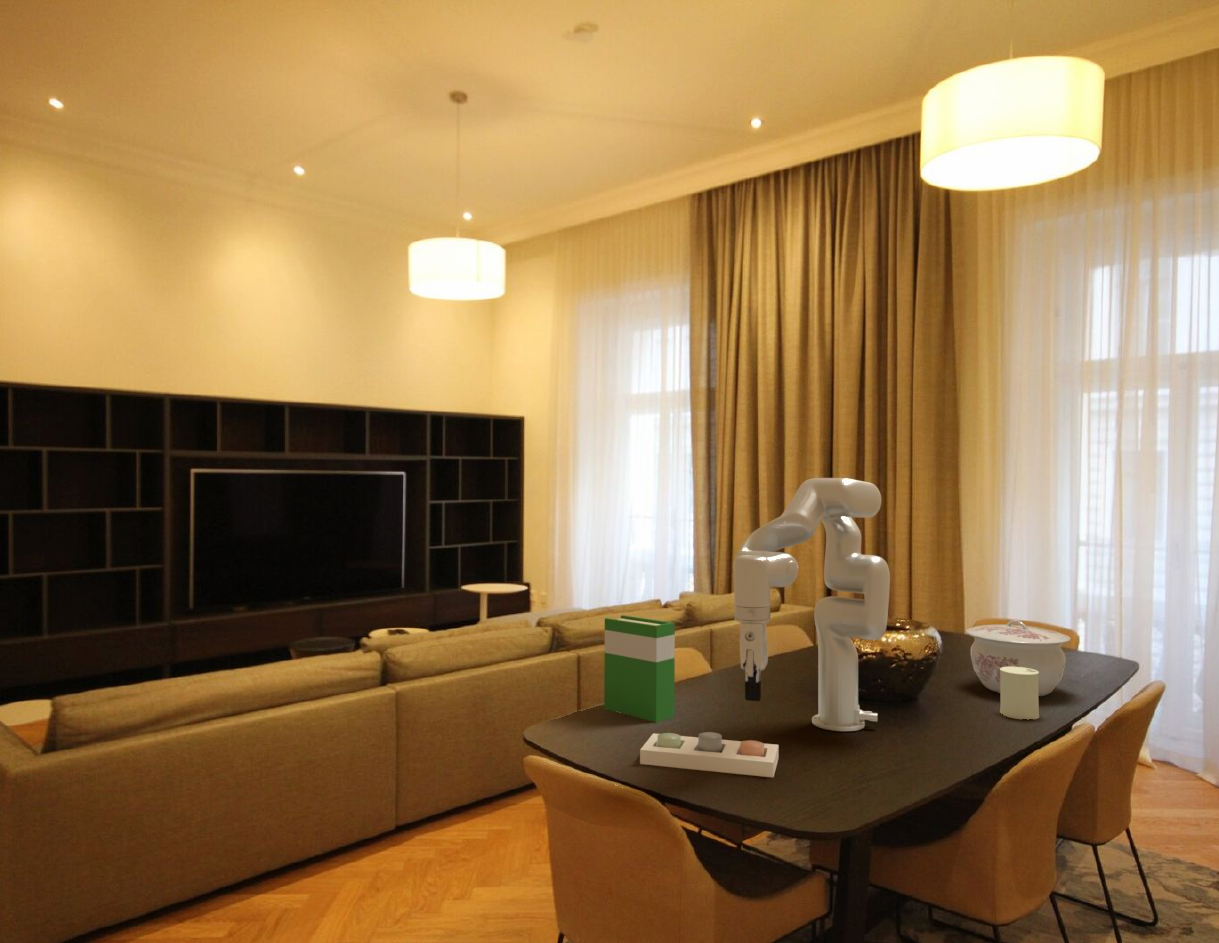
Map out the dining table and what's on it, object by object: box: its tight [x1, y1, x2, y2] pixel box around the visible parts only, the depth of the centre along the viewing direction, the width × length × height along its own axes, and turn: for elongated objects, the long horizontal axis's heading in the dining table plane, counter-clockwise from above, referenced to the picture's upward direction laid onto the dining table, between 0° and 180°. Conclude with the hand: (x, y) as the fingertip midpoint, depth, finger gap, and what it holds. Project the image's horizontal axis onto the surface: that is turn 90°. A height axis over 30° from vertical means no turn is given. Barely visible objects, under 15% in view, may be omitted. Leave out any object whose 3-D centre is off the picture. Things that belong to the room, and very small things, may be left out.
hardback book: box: [603, 614, 676, 723], centre depth 215 cm, size 18×7×24 cm, turn 48°
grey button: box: [698, 731, 723, 753], centre depth 178 cm, size 5×5×4 cm
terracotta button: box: [740, 740, 765, 757], centre depth 175 cm, size 5×5×4 cm
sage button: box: [658, 732, 682, 749], centre depth 180 cm, size 5×5×4 cm
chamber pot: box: [964, 619, 1072, 698], centre depth 238 cm, size 28×28×21 cm
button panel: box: [639, 732, 780, 778], centre depth 178 cm, size 28×12×3 cm, turn 74°
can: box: [999, 667, 1040, 721], centre depth 214 cm, size 9×9×12 cm
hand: (753, 699), depth 176 cm, fingers closed
